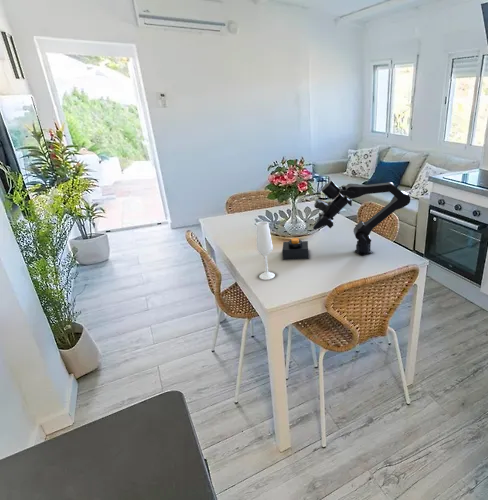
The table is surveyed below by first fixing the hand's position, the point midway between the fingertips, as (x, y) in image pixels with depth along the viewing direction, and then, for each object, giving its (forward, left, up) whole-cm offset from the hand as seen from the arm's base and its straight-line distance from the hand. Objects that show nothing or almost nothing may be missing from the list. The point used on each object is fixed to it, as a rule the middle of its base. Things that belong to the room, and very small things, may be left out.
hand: (313, 228), depth 166 cm
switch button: (+8, -4, -7) cm, 11 cm away
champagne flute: (+28, +9, -14) cm, 32 cm away
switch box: (+8, -4, -14) cm, 16 cm away
